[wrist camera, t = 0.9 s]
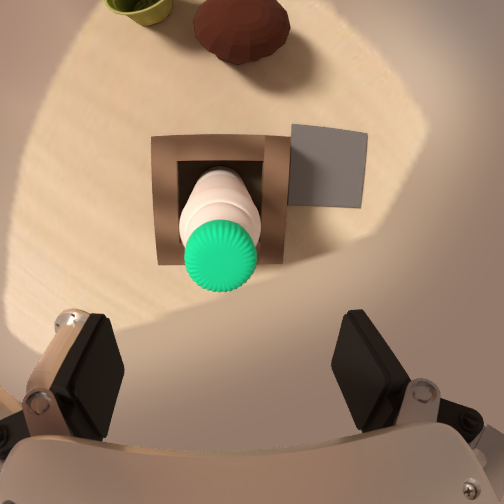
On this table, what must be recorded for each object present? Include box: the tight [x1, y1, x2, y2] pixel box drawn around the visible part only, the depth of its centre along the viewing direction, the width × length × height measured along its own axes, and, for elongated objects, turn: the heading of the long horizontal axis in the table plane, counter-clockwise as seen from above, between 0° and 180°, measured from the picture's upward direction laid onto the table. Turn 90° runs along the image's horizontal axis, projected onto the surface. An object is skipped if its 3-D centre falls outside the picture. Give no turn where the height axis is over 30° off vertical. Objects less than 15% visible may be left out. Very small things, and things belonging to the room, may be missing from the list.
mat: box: [287, 124, 367, 208], centre depth 41 cm, size 12×12×1 cm
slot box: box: [151, 134, 291, 265], centre depth 37 cm, size 16×16×8 cm
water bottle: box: [179, 167, 261, 292], centre depth 29 cm, size 7×7×25 cm
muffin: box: [193, 0, 291, 65], centre depth 28 cm, size 12×11×10 cm
